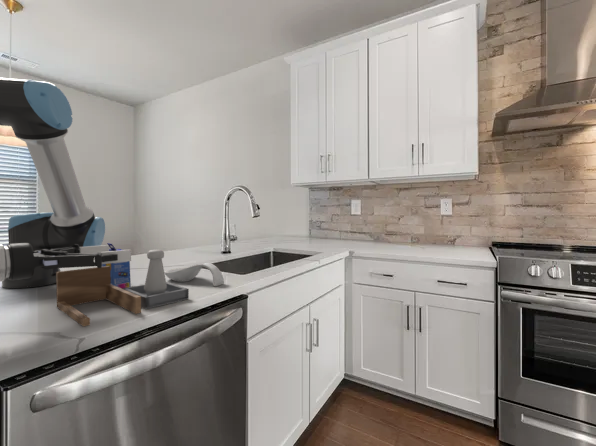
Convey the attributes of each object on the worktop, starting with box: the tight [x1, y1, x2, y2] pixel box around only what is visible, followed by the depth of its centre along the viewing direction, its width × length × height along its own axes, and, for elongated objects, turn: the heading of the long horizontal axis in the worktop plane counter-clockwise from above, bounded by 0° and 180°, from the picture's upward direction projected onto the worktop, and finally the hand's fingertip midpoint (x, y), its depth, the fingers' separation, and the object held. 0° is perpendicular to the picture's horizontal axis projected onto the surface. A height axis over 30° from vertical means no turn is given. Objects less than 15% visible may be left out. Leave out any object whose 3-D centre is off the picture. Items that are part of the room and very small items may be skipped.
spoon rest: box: [164, 262, 225, 287], centre depth 109 cm, size 24×12×7 cm, turn 63°
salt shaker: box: [144, 249, 167, 296], centre depth 87 cm, size 6×6×13 cm
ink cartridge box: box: [102, 242, 132, 289], centre depth 97 cm, size 10×6×14 cm, turn 51°
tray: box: [122, 281, 190, 310], centre depth 87 cm, size 14×12×3 cm
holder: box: [55, 266, 142, 327], centre depth 77 cm, size 20×12×9 cm, turn 51°
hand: (119, 252), depth 79 cm, fingers open, 13 cm apart
